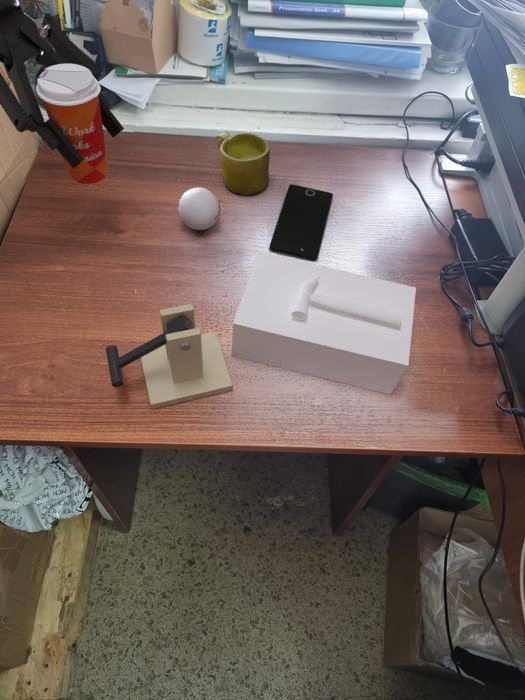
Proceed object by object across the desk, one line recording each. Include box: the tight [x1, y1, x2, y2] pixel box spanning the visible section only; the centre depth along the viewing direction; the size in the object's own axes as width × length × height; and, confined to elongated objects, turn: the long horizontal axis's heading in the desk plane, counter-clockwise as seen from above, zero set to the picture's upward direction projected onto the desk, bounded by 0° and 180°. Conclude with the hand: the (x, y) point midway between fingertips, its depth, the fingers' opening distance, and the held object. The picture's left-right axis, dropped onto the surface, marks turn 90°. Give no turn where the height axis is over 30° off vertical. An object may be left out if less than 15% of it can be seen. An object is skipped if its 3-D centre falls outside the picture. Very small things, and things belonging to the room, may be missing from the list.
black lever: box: [105, 315, 194, 388], centre depth 68 cm, size 13×6×2 cm, turn 107°
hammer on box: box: [231, 250, 417, 395], centre depth 77 cm, size 14×25×11 cm, turn 76°
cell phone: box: [268, 183, 334, 262], centre depth 95 cm, size 9×18×1 cm, turn 166°
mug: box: [216, 131, 271, 196], centre depth 98 cm, size 12×10×10 cm
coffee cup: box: [35, 64, 109, 185], centre depth 74 cm, size 8×8×15 cm
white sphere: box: [177, 187, 221, 231], centre depth 91 cm, size 10×7×7 cm
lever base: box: [140, 303, 234, 410], centre depth 71 cm, size 12×10×13 cm
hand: (99, 148), depth 74 cm, fingers closed on coffee cup, 8 cm apart
